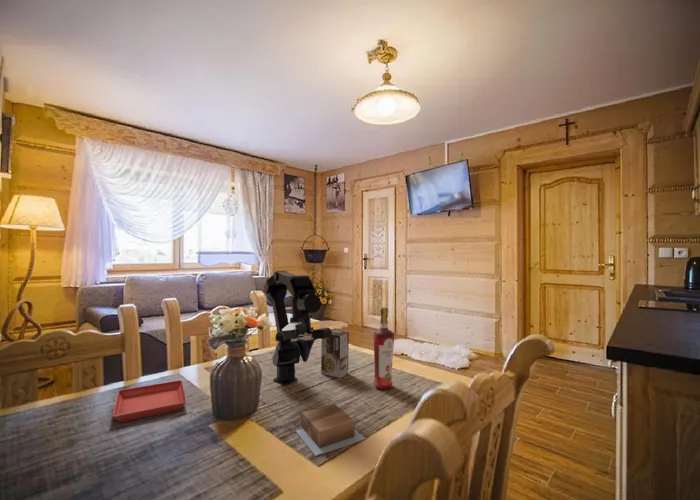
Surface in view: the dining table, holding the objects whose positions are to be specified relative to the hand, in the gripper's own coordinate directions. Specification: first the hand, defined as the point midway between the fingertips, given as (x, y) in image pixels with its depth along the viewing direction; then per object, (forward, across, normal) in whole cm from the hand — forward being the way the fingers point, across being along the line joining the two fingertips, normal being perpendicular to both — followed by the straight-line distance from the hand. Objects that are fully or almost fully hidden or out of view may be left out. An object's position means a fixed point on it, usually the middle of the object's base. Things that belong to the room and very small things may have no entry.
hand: (305, 361), depth 108 cm
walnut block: (+12, +10, -11) cm, 19 cm away
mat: (+16, +16, -15) cm, 26 cm away
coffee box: (+10, -3, +24) cm, 26 cm away
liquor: (+14, +18, +21) cm, 31 cm away
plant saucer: (+7, -40, -25) cm, 48 cm away
